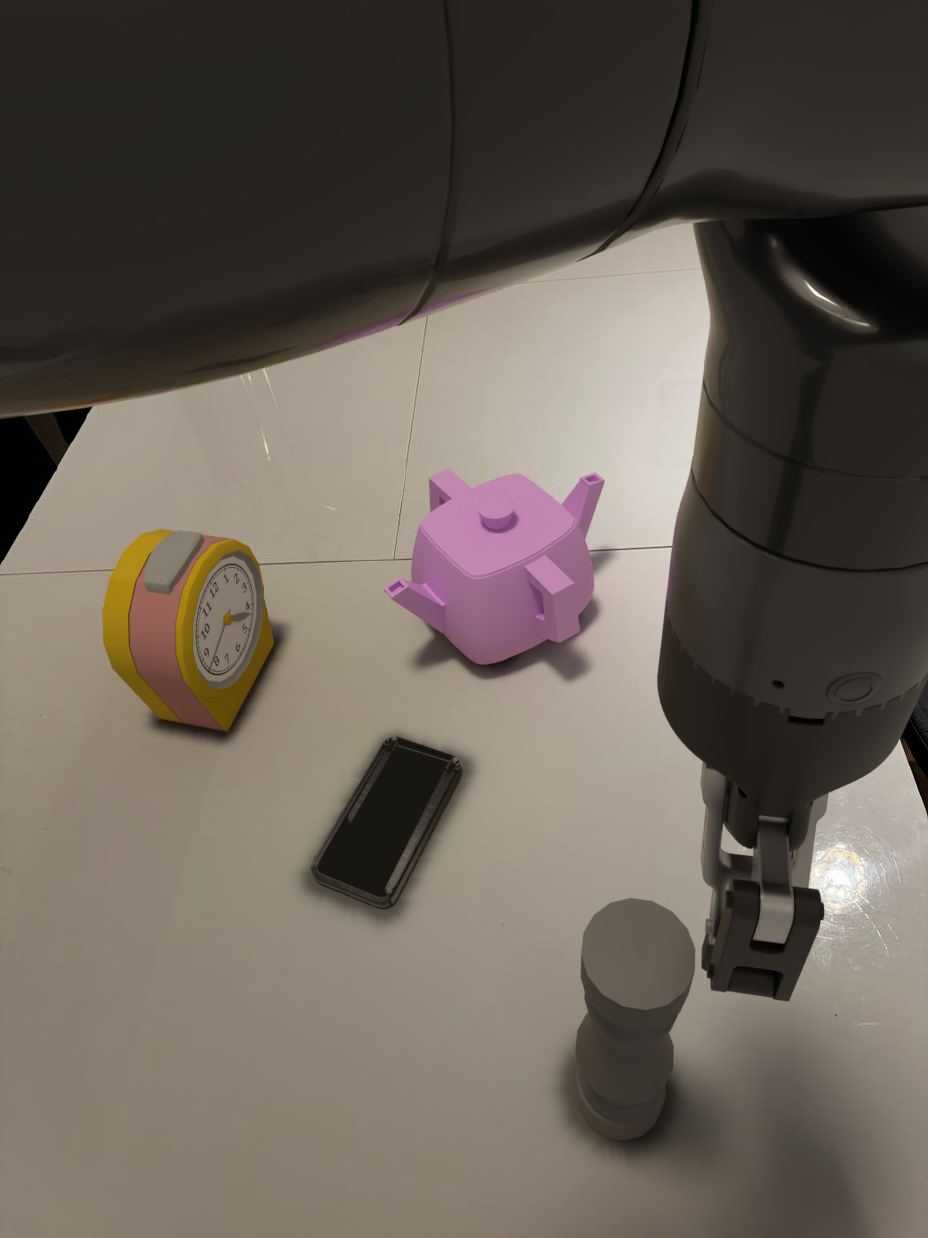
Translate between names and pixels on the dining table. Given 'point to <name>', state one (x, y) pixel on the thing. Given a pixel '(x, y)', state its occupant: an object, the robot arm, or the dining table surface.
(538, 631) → the teapot
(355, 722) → the dining table surface
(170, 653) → the alarm clock
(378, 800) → the phone
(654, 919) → the candle holder
